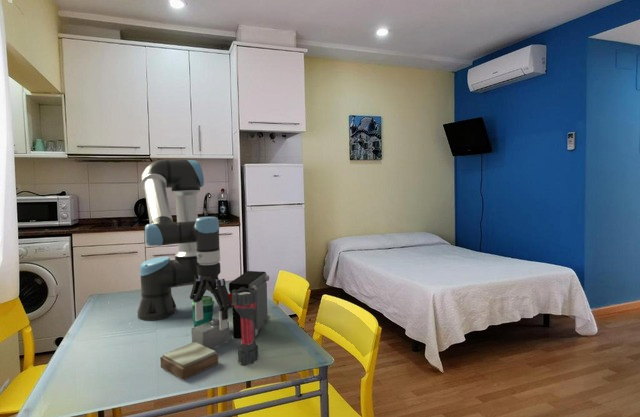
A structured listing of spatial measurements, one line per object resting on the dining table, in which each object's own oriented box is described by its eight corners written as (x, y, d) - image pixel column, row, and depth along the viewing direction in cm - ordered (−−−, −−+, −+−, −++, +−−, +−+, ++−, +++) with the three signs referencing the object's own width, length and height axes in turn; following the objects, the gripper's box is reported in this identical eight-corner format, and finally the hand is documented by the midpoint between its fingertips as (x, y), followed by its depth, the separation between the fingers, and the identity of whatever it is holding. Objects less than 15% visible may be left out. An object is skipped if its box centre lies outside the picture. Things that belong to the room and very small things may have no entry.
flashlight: (236, 370, 113) (234, 295, 111) (231, 359, 120) (229, 288, 118) (261, 365, 116) (260, 291, 114) (255, 354, 123) (253, 285, 121)
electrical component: (255, 340, 134) (253, 284, 132) (228, 337, 136) (226, 283, 134) (271, 321, 151) (270, 271, 149) (247, 319, 153) (246, 270, 151)
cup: (188, 332, 141) (186, 300, 140) (201, 324, 148) (200, 294, 147) (206, 335, 138) (205, 303, 137) (219, 326, 146) (218, 296, 145)
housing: (192, 348, 128) (191, 325, 127) (218, 337, 137) (217, 315, 136) (203, 353, 124) (202, 329, 124) (229, 341, 133) (228, 319, 133)
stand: (160, 367, 115) (160, 354, 115) (195, 352, 124) (195, 340, 124) (183, 380, 108) (182, 366, 107) (218, 363, 117) (217, 351, 117)
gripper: (178, 260, 133) (180, 319, 134) (222, 269, 117) (225, 336, 119) (196, 256, 139) (199, 313, 140) (241, 265, 123) (243, 328, 125)
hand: (211, 324), depth 130 cm, fingers open, 13 cm apart
